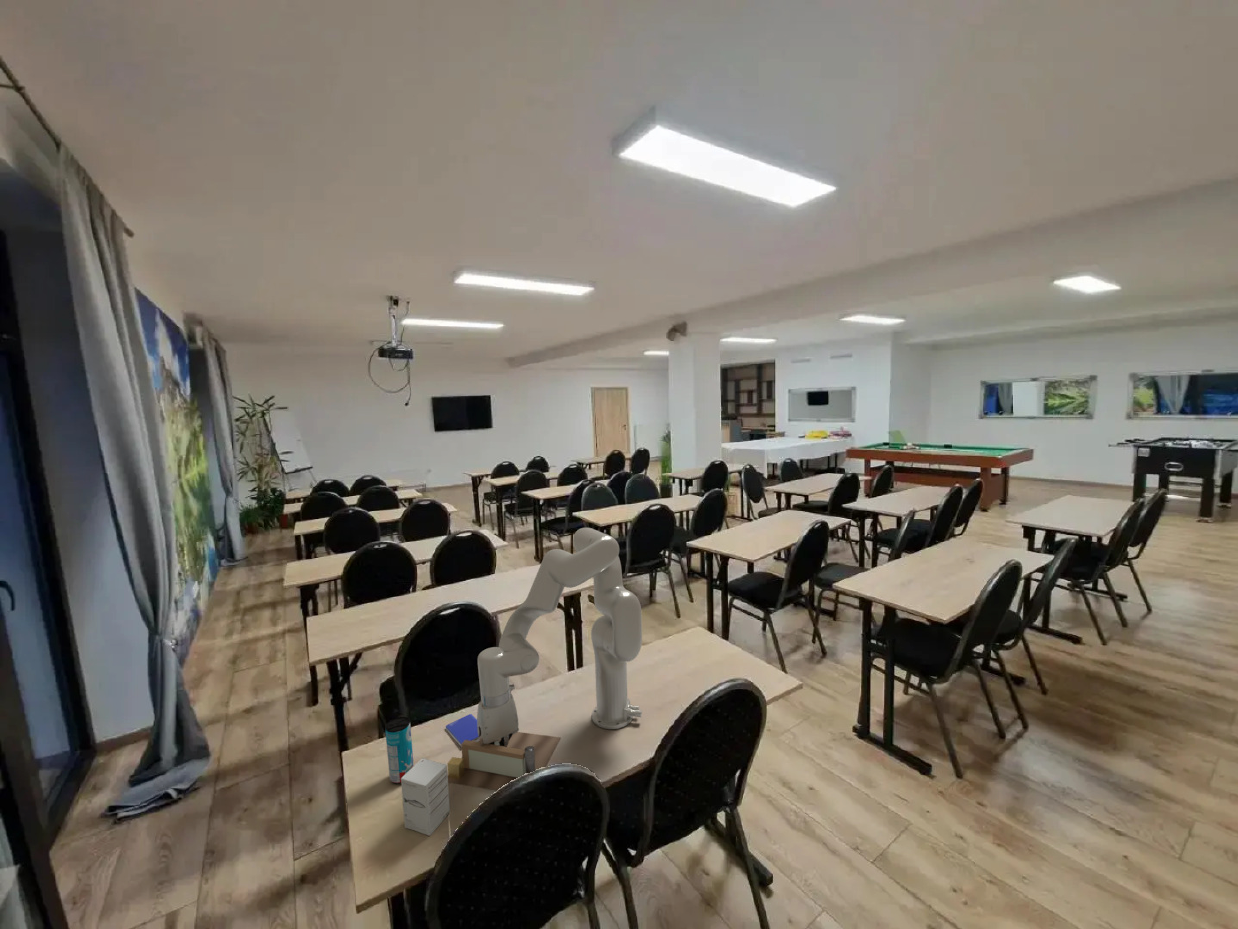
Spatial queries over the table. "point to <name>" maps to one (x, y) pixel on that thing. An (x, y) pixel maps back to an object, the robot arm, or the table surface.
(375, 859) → the table surface
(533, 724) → the table surface
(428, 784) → the supplement box
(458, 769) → the gate posts
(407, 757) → the beverage can
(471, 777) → the board
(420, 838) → the table surface
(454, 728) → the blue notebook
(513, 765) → the brown and grey board
